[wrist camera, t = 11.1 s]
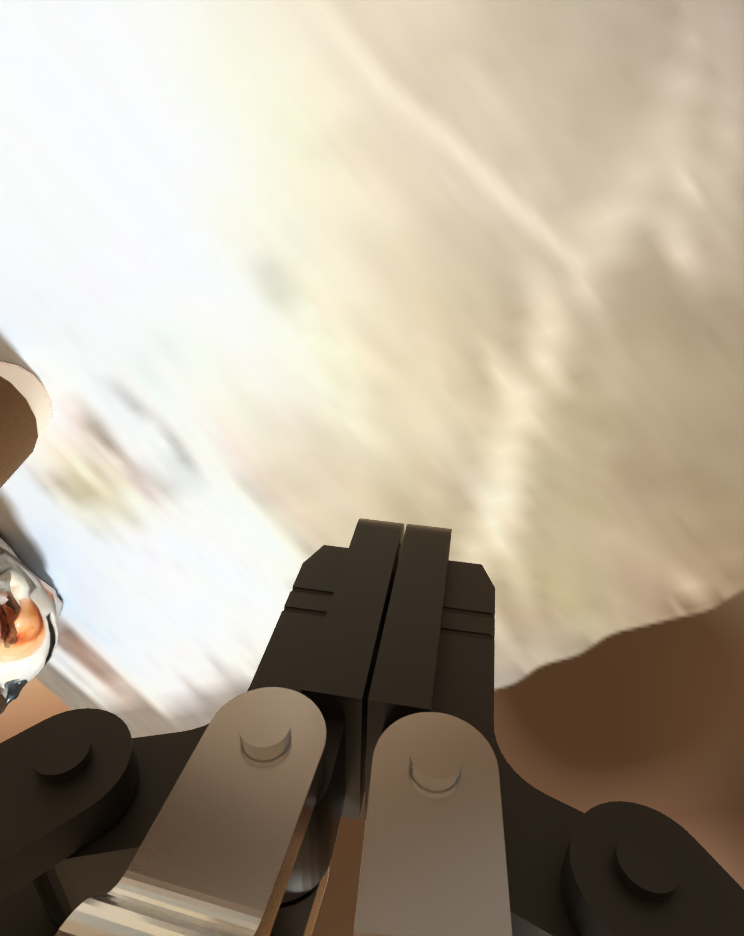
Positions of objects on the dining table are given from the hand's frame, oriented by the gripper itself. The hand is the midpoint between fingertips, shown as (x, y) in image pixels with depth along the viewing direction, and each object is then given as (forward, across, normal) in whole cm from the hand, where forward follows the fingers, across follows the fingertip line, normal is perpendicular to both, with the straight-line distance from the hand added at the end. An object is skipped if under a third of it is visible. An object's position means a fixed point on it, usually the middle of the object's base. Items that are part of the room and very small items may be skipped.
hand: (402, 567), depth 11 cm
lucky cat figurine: (+32, +39, +33) cm, 61 cm away
